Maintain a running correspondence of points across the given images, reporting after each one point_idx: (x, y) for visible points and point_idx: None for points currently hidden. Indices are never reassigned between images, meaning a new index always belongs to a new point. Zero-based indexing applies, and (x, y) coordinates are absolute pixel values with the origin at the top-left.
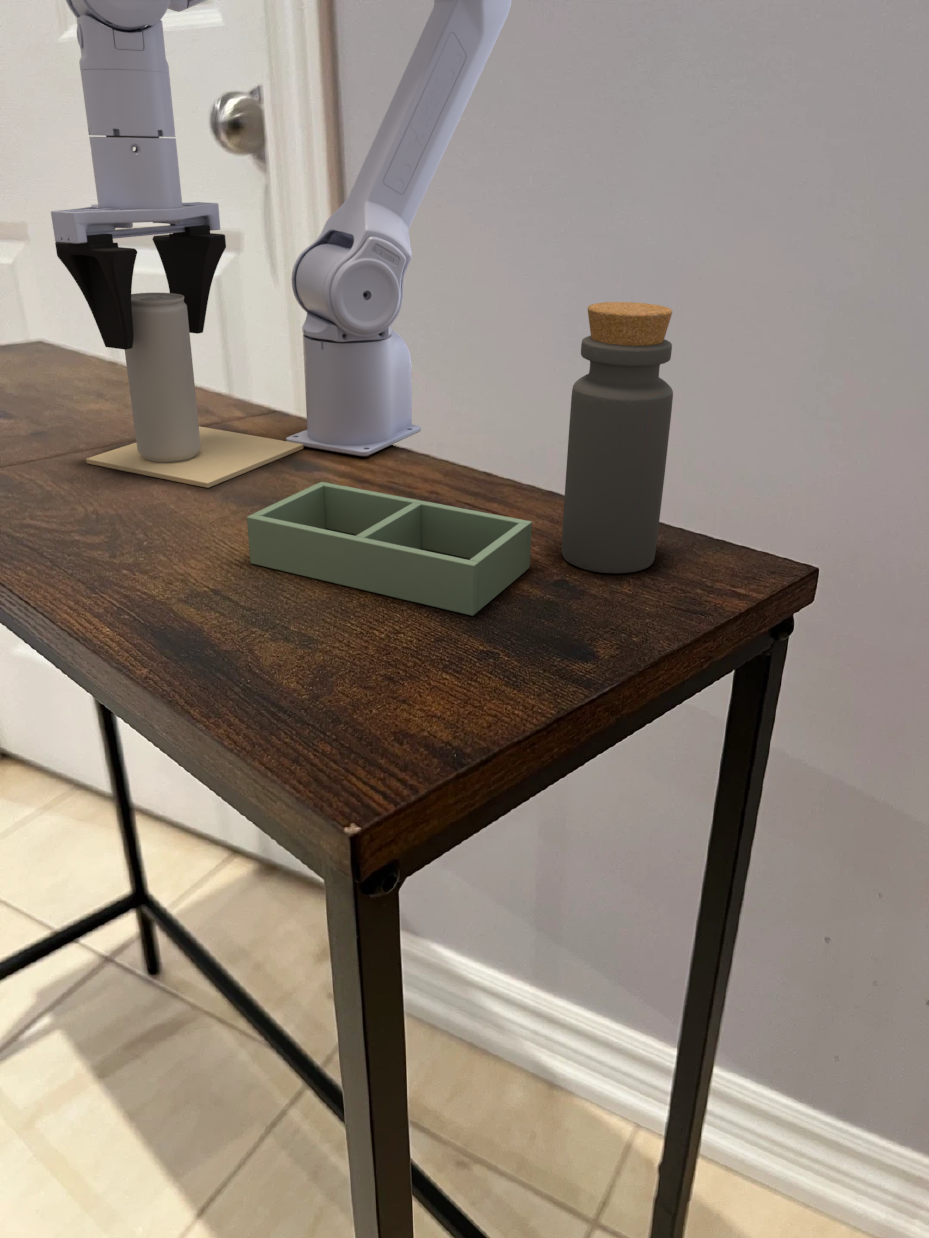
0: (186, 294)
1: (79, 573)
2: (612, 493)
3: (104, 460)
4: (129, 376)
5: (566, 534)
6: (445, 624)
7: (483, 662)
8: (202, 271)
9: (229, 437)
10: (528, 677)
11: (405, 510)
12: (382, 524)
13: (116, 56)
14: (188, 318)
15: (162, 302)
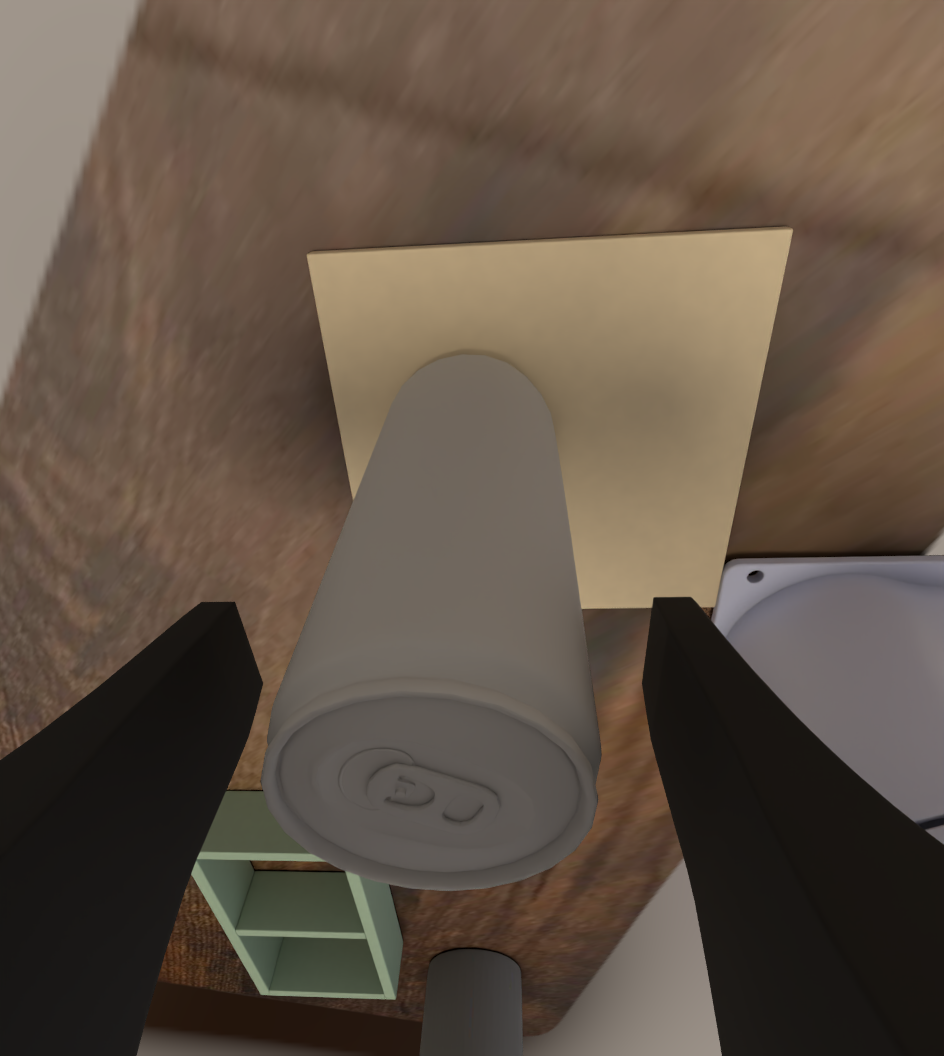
0: (694, 798)
1: (12, 676)
2: None
3: (330, 317)
4: (347, 516)
5: (436, 986)
6: None
7: (220, 955)
8: (716, 1007)
9: (696, 440)
10: (226, 972)
11: (334, 936)
12: (281, 935)
13: None
14: (657, 701)
15: (369, 873)
